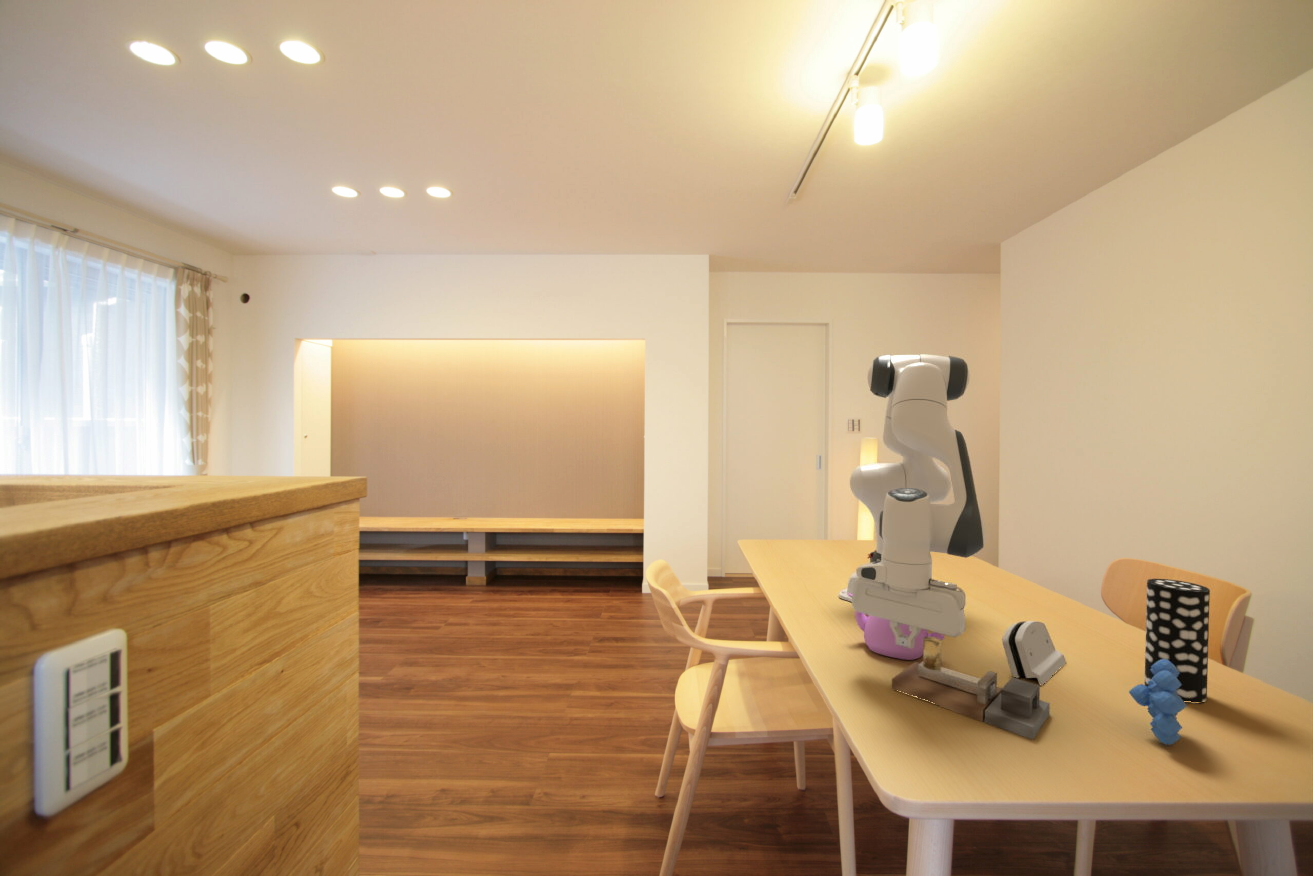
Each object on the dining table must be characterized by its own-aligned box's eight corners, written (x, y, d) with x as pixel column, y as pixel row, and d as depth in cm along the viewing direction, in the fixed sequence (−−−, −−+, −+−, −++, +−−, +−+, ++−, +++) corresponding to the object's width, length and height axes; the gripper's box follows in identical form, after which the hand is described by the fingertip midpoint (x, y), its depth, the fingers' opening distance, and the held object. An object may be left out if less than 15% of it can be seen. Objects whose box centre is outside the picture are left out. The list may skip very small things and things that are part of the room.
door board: (891, 689, 100) (892, 660, 100) (915, 671, 108) (916, 644, 108) (1033, 739, 84) (1033, 705, 84) (1049, 714, 92) (1050, 683, 92)
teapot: (854, 629, 131) (854, 584, 130) (947, 649, 119) (948, 599, 119) (837, 648, 120) (838, 598, 119) (938, 672, 108) (939, 616, 108)
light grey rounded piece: (1042, 686, 102) (1022, 631, 105) (1015, 686, 106) (996, 633, 108) (1067, 662, 113) (1048, 613, 115) (1041, 663, 116) (1024, 615, 119)
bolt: (917, 676, 101) (917, 638, 101) (923, 671, 103) (924, 634, 103) (990, 700, 92) (991, 659, 92) (995, 694, 94) (996, 654, 94)
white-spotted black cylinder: (1134, 686, 102) (1137, 581, 102) (1159, 678, 106) (1161, 576, 105) (1192, 707, 95) (1195, 593, 94) (1216, 698, 98) (1219, 588, 98)
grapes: (1127, 713, 93) (1128, 644, 92) (1182, 728, 88) (1184, 654, 88) (1128, 743, 84) (1130, 666, 83) (1189, 761, 79) (1192, 679, 79)
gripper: (971, 582, 98) (970, 658, 99) (863, 561, 113) (862, 627, 113) (959, 589, 94) (958, 668, 94) (848, 566, 109) (847, 635, 109)
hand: (904, 646), depth 104 cm, fingers closed
